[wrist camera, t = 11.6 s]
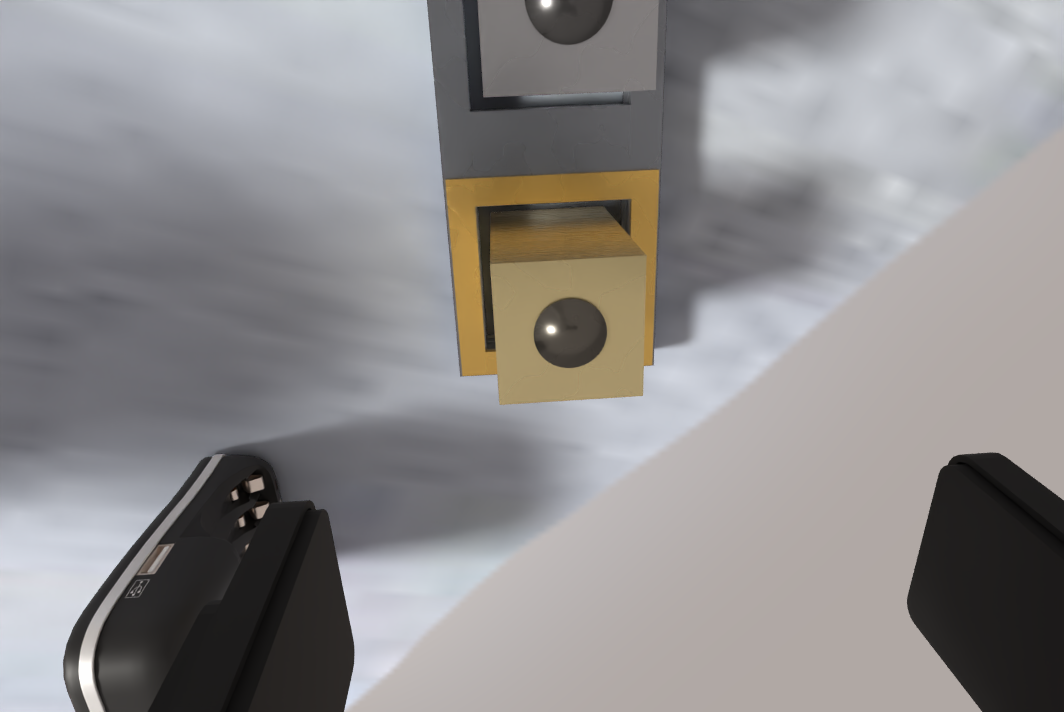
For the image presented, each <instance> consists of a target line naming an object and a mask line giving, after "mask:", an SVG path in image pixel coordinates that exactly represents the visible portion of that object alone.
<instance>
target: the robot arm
mask: <svg viewBox="0 0 1064 712" xmlns="http://www.w3.org/2000/svg"><path fill="white" fill-rule="evenodd" d="M907 605H908V610H909V614H910V616H911V619H912V620H913V622H914V624H915V625H916V626H917V628H918V629H919V630H920V632H921V633H922V634H923V635H924V637H925V638H926V639H927V640H928V642H929V643H930V645H931V646H932V647H933V648H934V650H935V651H936V652H937V654H938V655H939V656H940V657H941V659H942V660H943V661H944V662H945V664H946V665H947V667H948V668H949V669H950V670H951V672H952V673H953V674H954V676H955V677H956V678H957V679H958V681H959V682H960V683H961V685H962V686H963V687H964V689H965V690H966V691H967V692H968V694H969V695H970V696H971V698H972V699H973V700H974V701H975V703H976V704H977V705H978V707H979V708H980V709H981V711H982V712H1064V500H1062V499H1061V498H1060V497H1058V496H1057V495H1056V494H1054V493H1053V492H1052V491H1050V490H1049V489H1048V488H1046V487H1045V486H1044V485H1042V484H1041V483H1040V482H1038V481H1037V480H1036V479H1034V478H1033V477H1032V476H1030V475H1029V474H1028V473H1026V472H1025V471H1024V470H1022V469H1021V468H1020V467H1018V466H1017V465H1015V464H1014V463H1013V462H1011V461H1010V460H1009V459H1008V458H1006V457H1005V456H1003V455H1001V454H999V453H978V454H964V455H957V456H955V457H953V458H952V459H951V460H950V461H949V463H948V465H947V466H944V467H943V468H942V469H941V470H940V473H939V475H938V479H937V483H936V487H935V491H934V495H933V499H932V503H931V507H930V511H929V515H928V519H927V523H926V527H925V530H924V534H923V538H922V542H921V546H920V550H919V554H918V558H917V562H916V566H915V569H914V573H913V577H912V581H911V585H910V589H909V593H908V598H907ZM353 666H354V641H353V636H352V631H351V626H350V621H349V616H348V611H347V606H346V601H345V596H344V591H343V586H342V581H341V576H340V571H339V566H338V561H337V556H336V551H335V546H334V541H333V536H332V531H331V526H330V521H329V517H328V513H327V511H326V510H324V509H321V510H316V509H315V506H314V504H313V502H312V501H310V500H307V501H293V502H279V503H272V504H270V505H269V506H268V508H267V509H266V511H265V513H264V515H263V517H262V519H261V521H260V523H259V525H258V527H257V529H256V531H255V533H254V535H253V537H252V540H251V542H250V544H249V546H248V548H247V550H246V552H245V554H244V556H243V558H242V560H241V562H240V564H239V566H238V568H237V570H236V572H235V574H234V576H233V578H232V580H231V582H230V584H229V586H228V588H227V590H226V592H225V594H224V596H223V599H222V600H213V601H210V602H209V603H207V604H206V605H204V607H203V608H202V610H201V611H200V613H199V614H198V616H197V618H196V620H195V622H194V624H193V626H192V628H191V630H190V631H189V633H188V635H187V637H186V639H185V641H184V643H183V645H182V647H181V649H180V651H179V653H178V655H177V656H176V658H175V660H174V662H173V664H172V666H171V668H170V670H169V672H168V674H167V676H166V678H165V679H164V681H163V683H162V685H161V687H160V689H159V691H158V693H157V695H156V697H155V699H154V701H153V702H152V704H151V706H150V708H149V710H148V712H344V709H345V704H346V699H347V695H348V690H349V686H350V681H351V676H352V672H353Z"/></svg>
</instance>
